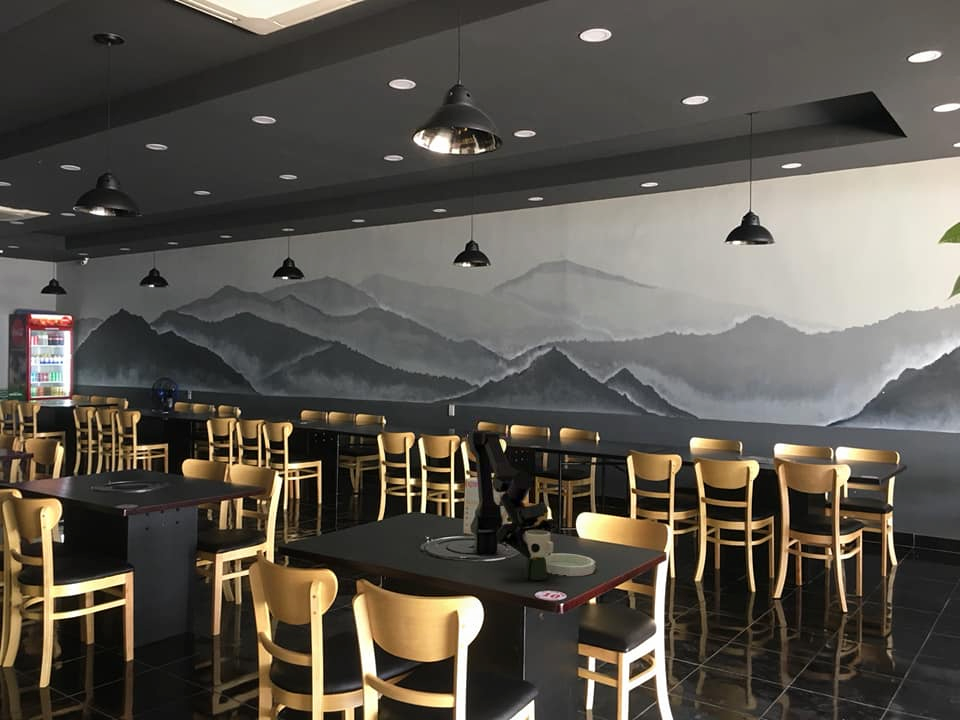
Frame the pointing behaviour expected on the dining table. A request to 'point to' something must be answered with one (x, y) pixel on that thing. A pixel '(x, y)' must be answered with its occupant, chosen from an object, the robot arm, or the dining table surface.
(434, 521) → the dining table surface
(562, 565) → the grey ring base
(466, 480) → the coffeecake box
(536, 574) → the character mug
